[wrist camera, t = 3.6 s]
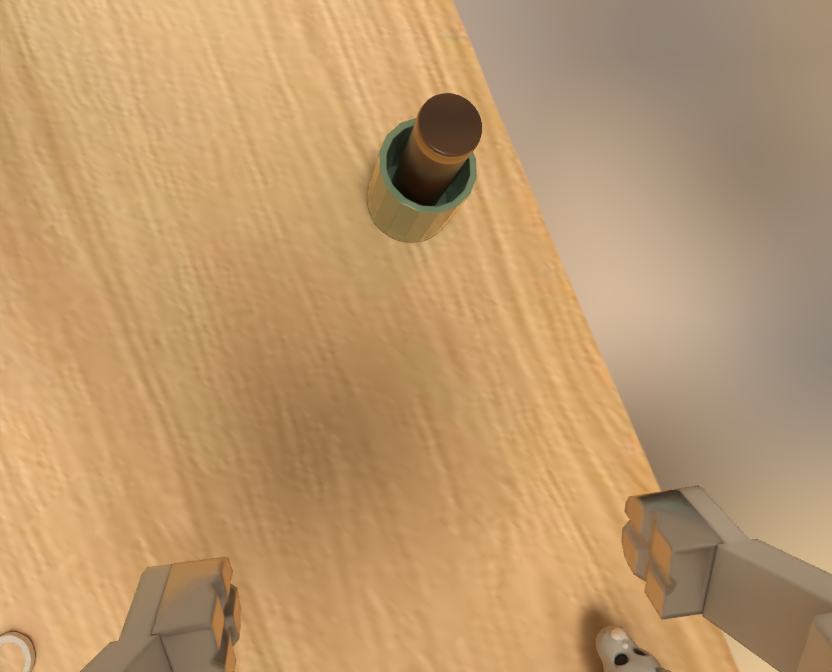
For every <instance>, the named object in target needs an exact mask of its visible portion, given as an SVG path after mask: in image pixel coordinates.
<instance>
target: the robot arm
mask: <svg viewBox="0 0 832 672" xmlns="http://www.w3.org/2000/svg"><path fill="white" fill-rule="evenodd" d="M625 513H626V515H627V516H628V518H629V519H630V520H629V521H628V522H627V524H626V525H625V526H624V527H623V528H622V546H623V552H624V556H625V558H626V561H627V563H628V565H629V567H630V569H631V570H632V572H633V574H634V575H636V576H637V577H639V578H641V579H642V580H644V581H646V586H645V594H646V595H647V597H648V598H649V600H650V602H651V603H652V605H653V607H654V608H655V610H656V611H657V613H658V615H659V616H660V618H661V619H669V618H676V617H683V616H690V615H697V614H703V617H705V618H706V619H707V620H709V621H710V622H712V623H713V624H714V625H716V626H717V627H718V628H720V629H721V630H723V631H724V632H725V633H727V634H728V635H729V636H731V637H732V638H734V639H735V640H737V641H738V642H739V643H741V644H742V645H743V646H745V647H746V648H747V649H749V650H750V651H751V652H753V653H754V654H756V655H757V656H758V657H760V658H761V659H762V660H764V661H765V662H767V663H768V664H769V665H771V666H772V667H773V668H775V669H776V670H778V671H779V672H832V574H830V573H828V572H826V571H824V570H822V569H820V568H817V567H815V566H813V565H811V564H809V563H807V562H805V561H803V560H801V559H799V558H796V557H794V556H792V555H790V554H788V553H786V552H784V551H782V550H779V549H777V548H775V547H773V546H771V545H769V544H767V543H765V542H762V541H760V540H758V539H751V540H750V539H749V538H748V537H747V536H746V535H745V534H744V533H743V532H742V531H741V529H740V528H739V527H738V526H737V525H736V524H735V523H734V522H733V521H732V520H731V519H730V517H729V516H728V515H727V514H726V513H725V512H724V511H723V509H722V508H721V507H720V506H719V505H718V504H717V503H716V502H715V501H714V500H713V498H712V497H711V496H710V495H709V494H708V493H707V492H706V491H705V490H704V489H703V488H702V487H700V486H691V487H685V488H679V489H675V490H668V491H661V492H655V493H649V494H642V495H636V496H630V497H629V498H628V499H627V501H626V505H625ZM232 572H233V570H232V567H231V563H230V560H229V558H227V557H220V558H212V559H204V560H196V561H188V562H180V563H174V564H169V565H161V566H152V567H147V568H146V569H145V571H144V572H143V573H142V575H141V578H140V580H139V583H138V586H137V589H136V592H135V595H134V598H133V600H132V603H131V606H130V609H129V612H128V615H127V618H126V620H125V623H124V626H123V629H122V632H121V635H120V638H119V640H118V641H115V642H110V643H109V644H108V645H107V646H106V647H105V648H104V649H103V650H102V651H101V652H100V653H99V654H98V655H96V656H95V657H94V658H93V659H92V660H91V661H90V662H89V663H88V664H87V665H86V666H85V667H84V668H83V669H82V670H81V671H80V672H234V671H235V664H236V658H235V654H234V651H233V646H234V644H235V643H236V642H237V641H238V640H239V636H240V627H241V606H240V598H239V594H238V590H237V587H235V586H234V585H232V584H231V579H232Z"/></svg>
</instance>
